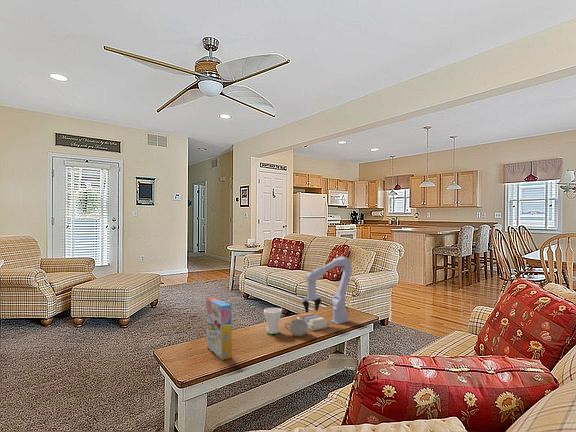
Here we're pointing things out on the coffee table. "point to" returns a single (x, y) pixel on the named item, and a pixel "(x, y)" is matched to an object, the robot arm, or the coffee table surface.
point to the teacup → (298, 327)
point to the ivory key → (316, 320)
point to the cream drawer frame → (317, 325)
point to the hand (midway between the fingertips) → (311, 311)
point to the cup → (272, 320)
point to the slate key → (310, 317)
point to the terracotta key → (305, 315)
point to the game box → (219, 327)
